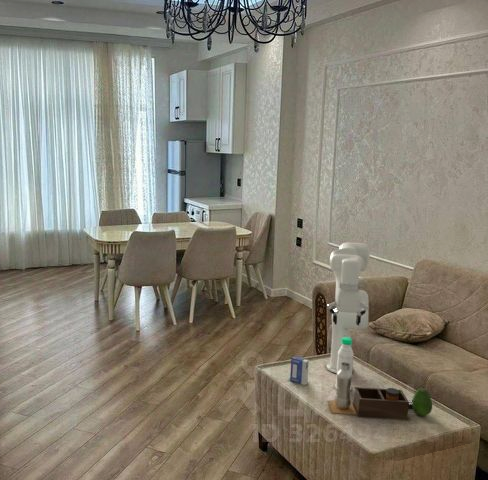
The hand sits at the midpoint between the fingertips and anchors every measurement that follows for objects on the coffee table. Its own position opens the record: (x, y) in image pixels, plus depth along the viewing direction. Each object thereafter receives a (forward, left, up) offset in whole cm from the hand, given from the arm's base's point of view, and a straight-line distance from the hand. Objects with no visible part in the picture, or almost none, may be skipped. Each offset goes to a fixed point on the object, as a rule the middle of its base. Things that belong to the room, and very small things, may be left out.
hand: (346, 323), depth 239 cm
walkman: (-11, -18, -34) cm, 40 cm away
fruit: (+14, +31, -34) cm, 48 cm away
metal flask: (+12, -2, -34) cm, 36 cm away
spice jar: (+13, +19, -34) cm, 41 cm away
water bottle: (-6, +2, -34) cm, 35 cm away
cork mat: (+12, -2, -34) cm, 36 cm away
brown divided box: (+13, +14, -34) cm, 39 cm away
